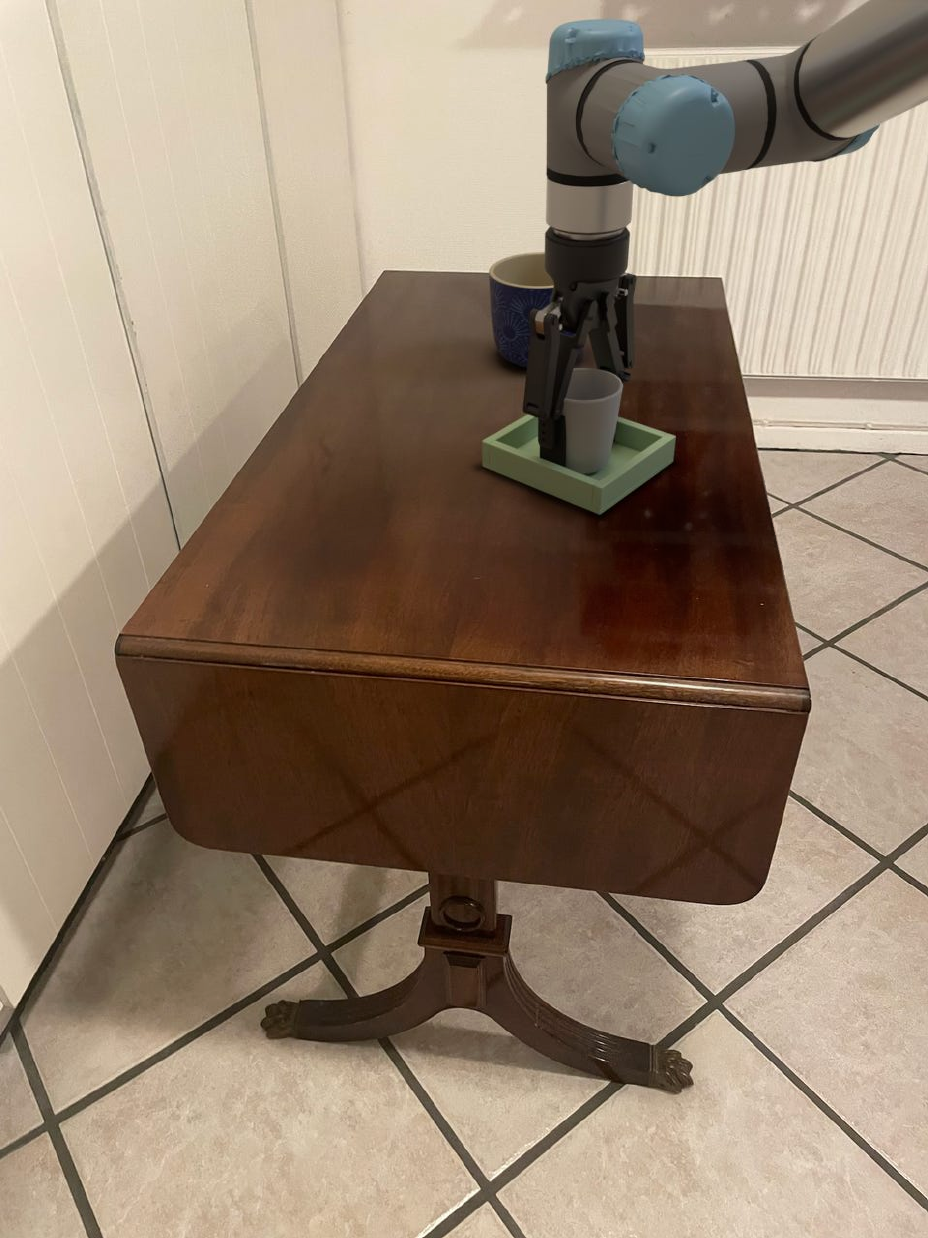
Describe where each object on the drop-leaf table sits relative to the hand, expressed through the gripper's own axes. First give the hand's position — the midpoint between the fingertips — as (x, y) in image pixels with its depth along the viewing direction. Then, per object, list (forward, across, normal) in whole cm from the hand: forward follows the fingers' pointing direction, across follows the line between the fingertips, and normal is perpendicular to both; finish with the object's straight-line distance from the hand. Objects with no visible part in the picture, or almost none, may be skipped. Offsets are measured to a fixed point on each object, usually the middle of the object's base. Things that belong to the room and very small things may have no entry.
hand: (577, 454), depth 98 cm
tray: (+1, 0, 0) cm, 1 cm away
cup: (0, 0, 0) cm, 1 cm away
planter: (+1, -19, -20) cm, 28 cm away
